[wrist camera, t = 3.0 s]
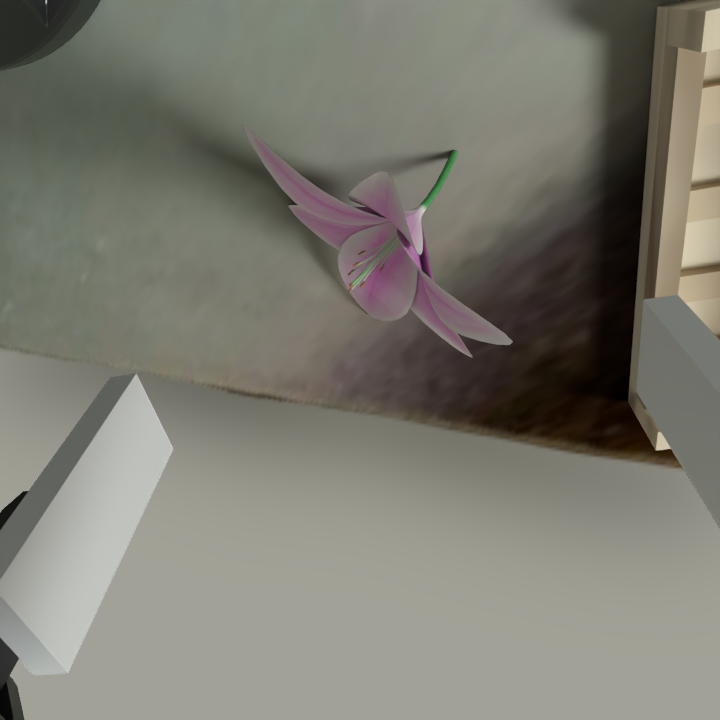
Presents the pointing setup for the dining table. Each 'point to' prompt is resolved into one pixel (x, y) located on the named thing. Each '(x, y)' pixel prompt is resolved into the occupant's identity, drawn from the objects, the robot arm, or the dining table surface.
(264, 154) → the lily
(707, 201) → the drying rack
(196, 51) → the dining table surface
